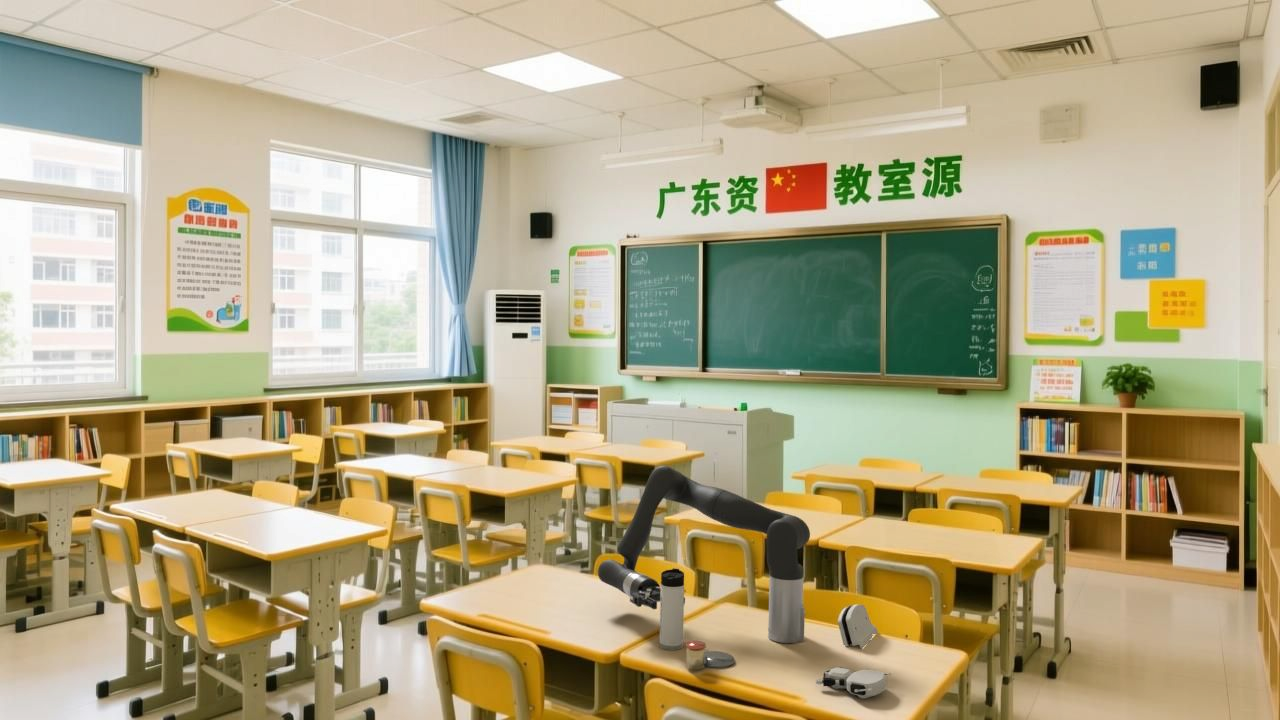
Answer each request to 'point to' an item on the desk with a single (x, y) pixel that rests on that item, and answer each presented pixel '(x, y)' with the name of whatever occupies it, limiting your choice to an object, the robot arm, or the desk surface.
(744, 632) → the desk surface
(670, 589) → the travel mug
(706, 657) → the grey base with jar
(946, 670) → the desk surface
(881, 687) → the robot toy
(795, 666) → the desk surface
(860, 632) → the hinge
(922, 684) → the desk surface
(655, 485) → the robot arm
